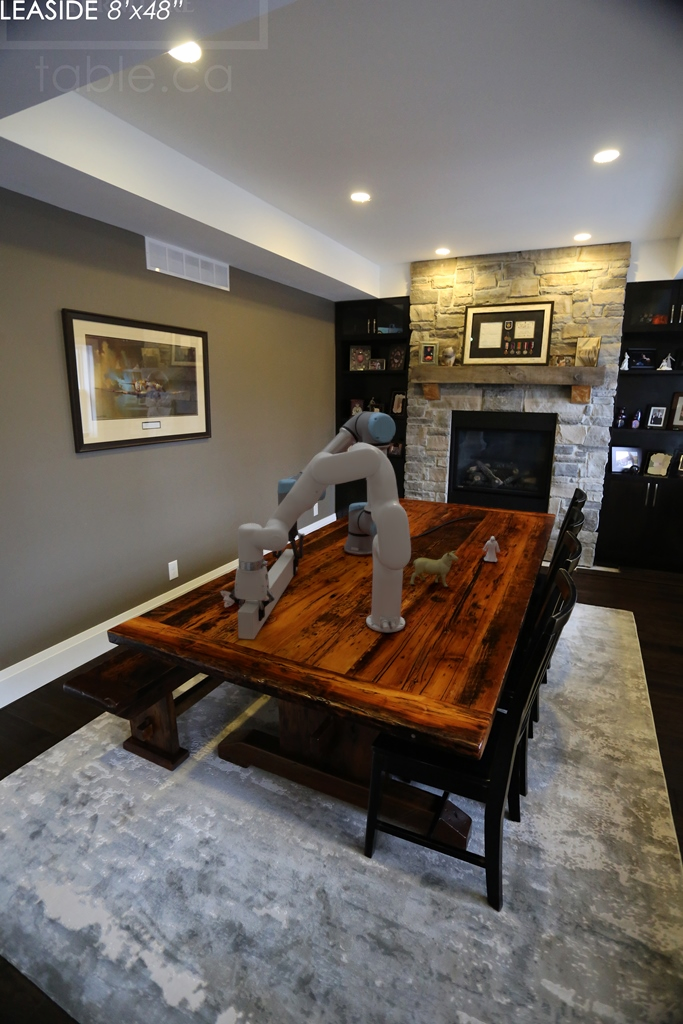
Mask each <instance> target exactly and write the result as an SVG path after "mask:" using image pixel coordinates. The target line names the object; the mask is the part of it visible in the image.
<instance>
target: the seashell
mask: <svg viewBox="0 0 683 1024" xmlns="http://www.w3.org/2000/svg"><path fill="white" fill-rule="evenodd" d="M219 593H220V596H222V598H223V599H222V601H223V602H224V605H223V607H224V608H225V609H227V608H229V607H231V606H232V605H234V604H235V602H234V600H232V599H231V598H230V597H229V595H230V594H231V591H227V590H220V591H219Z"/></svg>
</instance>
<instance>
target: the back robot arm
mask: <svg viewBox="0 0 683 1024" xmlns="http://www.w3.org/2000/svg"><path fill="white" fill-rule="evenodd" d="M396 430H397V429H396V423H395V421H394V419H393V418H392V417H391V416H390V415H389V414H386V413H383V412H378V411H367V410H365V411H360V412H358V413H356V414H355V415H353V416H352V417H351V418H349V419H348V420H347V421H346V422H345V423H344V424H343V425H342V426H341V427H340V428H339V433H337V434H336V435H335V436H334V437H333V438H332V440H330V441H329V442H328V444H326V445H325V447H324V448H322V449H321V450H320V452H328V453H331V454H332V455H333V454H339V453H344V452H347V450H348V449H350V448H351V447H352V446H353V445H354V444H356V443H360V441H362V443H367V444H370V445H372V446H374V447H376V448H378V449H379V450H381V451H382V452H383V453H384V454H385V456H386V457H387V458H388V455H387V454H388V448H389V447H390V446H391V441H392V440H393V439H394V437H395V434H396ZM309 463H310V461H309V462H308V464H309ZM308 464H306V465H305V466H304V467H303V469H301V470H300V471H298V473H297V474H296V475H292V476H290V477H288V478H282V479H280V480H278V482H277V507H278V506H279V505H280V503H281V502H282V501H283V500H284V498H285V497H286V495H287V494H288V493H289V492H290V490H291V489H292V487H293V486H294V485H295V483H296V482H297V480H298V479H299V477H300V476H301V475H302V473H303V472H304V470H305V469H306V467H307V466H308ZM326 496H327V489H326V490H325V491H324V492H323V494H322V495H321V497H320V498H319V500H318V501H317V502H320V501H323V500H325V498H326ZM366 498H367V501H366V502H362V501H361V502H354V503H351V504H350V505H349V507H348V533H347V538H346V539H345V544H344V547H343V551H344V553H346V554H348V555H351V556H358V557H366V556H367V557H368V556H373V553H372V545H373V540H374V537H375V536H376V534H377V528H376V525H375V523H374V521H373V520H372V516H371V502H370V492H369V486H368V481H367V480H366ZM468 518H472V520H473V519H474V520H475V516H472V515H468V516H464V517H459V518H456V519H451V520H449V521H447V522H445V523H442V524H440V525H438V526H436V527H434V528H432V529H430V530H427V531H426V532H424V533H421V534H418V535H415V536H410V540H412V539H416V538H418V537H422V536H424V535H427V534H429V533H432V532H433V531H435V530H437V529H439V528H441V527H443V526H445V525H447V524H450V523H454V522H456V521H459V520H465V519H468ZM305 536H306V534H305V533H301V532H299V529H298V520H297V521H296V522H295V524H294V525H293V526H292V528H291V529H290V531H289V532H288V543H290V545H291V549H293V553H294V557H295V558H294V559H293V575H294V576H296V575H297V571H296V567H297V568H299V565H300V560H301V559H303V557H304V539H305ZM297 537H298V539H299V541H298V547H297V543H296V538H297ZM283 550H284V549H282V550H280V551H271V552H272V557H273V558H276V561H277V560H278V559H279V558H280V556H281V555H282V554H283V552H284V551H283Z"/></svg>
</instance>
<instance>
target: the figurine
mask: <svg viewBox="0 0 683 1024" xmlns="http://www.w3.org/2000/svg"><path fill="white" fill-rule="evenodd" d="M482 551H483V552H486V554H485V556H484V557H483V560H484V561H485V562H495V563H498V558H497V554H496V553H498V554H499V553H501V550H500V547H499V543H498V541H497V540H496V538H495V536H493V535H492V536H490V539H489V540H487V542H486V543H485V544H484V546H483V548H482Z"/></svg>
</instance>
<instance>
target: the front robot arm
mask: <svg viewBox="0 0 683 1024" xmlns="http://www.w3.org/2000/svg"><path fill="white" fill-rule="evenodd" d="M309 462H310V463H309ZM309 462H308V463H309V464H308V466H307V467H306V469H305V470H304V472H303V473H302V475H301V476H300V477H299V479H298V480H297V482H296V483H295V485H294V486H293V487H292V489H291V490H290V492H289V493H288V494H287V495H286V497H285V498H284V500H283V501H282V502H281V503H280V505H279V506H278V505H277V508H275V510H274V512H273V513H272V514H271V516H270V517H269V518H268V520H267V522H266V524H265V526H264V527H262V525H261V524H258V523H254V522H249V523H243V524H241V525H239V526H238V528H237V552H238V566H237V568H236V571H235V579H234V588H233V590H232V591H230V593H231V594H230V595H229V597H230V598H231V599H232V600H234V604H236V605H237V607H238V608H239V609H240V608H241V607H242V605H243V604H244V603H245V602H246V600H257V601H258V603H259V606H260V608H259V610H258V613H259V621H262V619H263V618H264V617H265V607H266V606H267V605H268V604H269V603H271V602H272V601H274V600H275V596H274V595H273V594H272V592H271V591H270V588H269V578H268V572H269V571H268V568H267V566H269V560H267V561H266V560H265V557H264V551H270V552H272V551H277V552H278V551H280V550H282V549H283V550H284V549H285V548H286V547H287V546H288V544H289V541H288V532H289V531H290V529H291V528H292V526H293V525H294V524H295V522H296V521H297V522H298V520H299V518H300V517H301V516H302V515H304V513H305V512H307V511H310V510H311V509H313V508H314V506H316V504H317V503H318V502H319V501H318V500H319V498H320V497H321V495H322V494H323V492H324V491H325V490H326V491H327V488H328V487H329V486H334V485H340V484H344V483H348V482H354V481H357V480H361V479H365V478H366V482H367V481H368V486H369V492H370V502H371V516H372V520H373V521H374V523H375V525H376V528H377V534H376V536H375V537H374V540H373V545H372V553H373V554H372V585H371V586H372V587H371V607H370V609H371V613H370V615H368V616H367V617H366V621H365V622H366V623H365V624H366V625H367V627H368V628H369V629H372V630H373V631H376V632H379V633H396V632H398V631H402V630H403V629H404V628H405V626H406V620H405V618H403V617H402V615H401V614H402V599H403V598H402V597H403V580H404V568H405V567H407V565H409V562H410V560H411V557H412V543H411V539H410V538H411V532H410V525H409V523H410V522H409V517H408V513H407V511H406V510H405V508H404V507H403V506H402V505H401V504H400V501H399V500H400V499H399V494H398V485H397V478H396V473H395V470H394V467H393V465H392V463H391V461H390V459H389V458H388V456H387V457H386V456H385V454H384V453H383V452H382V451H381V450H379V449H378V448H376V447H374V446H372V445H370V444H367V443H363V442H357V443H356V444H354V445H351V446H350V447H349V450H348V451H345V452H344V453H339V454H333V455H332V454H331V453H328V452H321V451H319V452H318V453H316V454H315V455H314V456H313V458H312V459H311V460H310V461H309ZM266 596H268V597H269V599H267V600H266V601H265V599H266Z"/></svg>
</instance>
